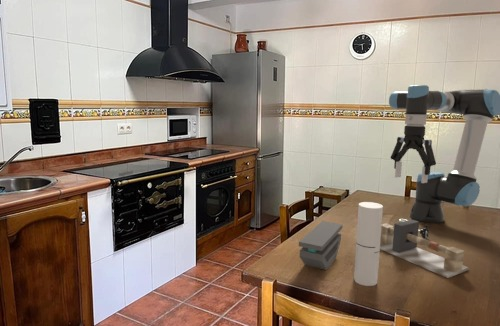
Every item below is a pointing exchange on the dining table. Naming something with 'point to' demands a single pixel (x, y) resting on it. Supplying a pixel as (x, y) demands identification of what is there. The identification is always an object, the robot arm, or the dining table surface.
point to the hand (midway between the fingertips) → (410, 179)
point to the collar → (404, 235)
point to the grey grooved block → (321, 245)
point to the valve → (422, 231)
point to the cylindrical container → (368, 243)
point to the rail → (426, 253)
